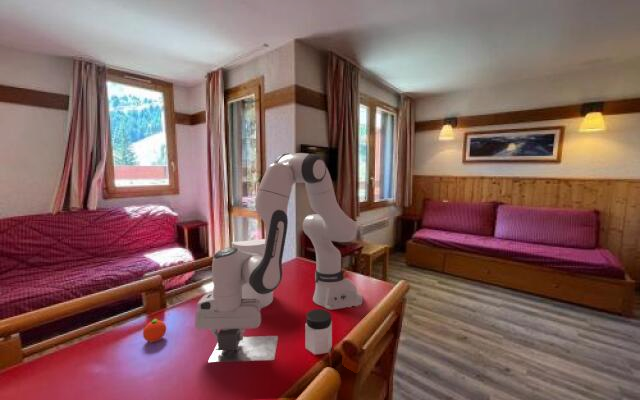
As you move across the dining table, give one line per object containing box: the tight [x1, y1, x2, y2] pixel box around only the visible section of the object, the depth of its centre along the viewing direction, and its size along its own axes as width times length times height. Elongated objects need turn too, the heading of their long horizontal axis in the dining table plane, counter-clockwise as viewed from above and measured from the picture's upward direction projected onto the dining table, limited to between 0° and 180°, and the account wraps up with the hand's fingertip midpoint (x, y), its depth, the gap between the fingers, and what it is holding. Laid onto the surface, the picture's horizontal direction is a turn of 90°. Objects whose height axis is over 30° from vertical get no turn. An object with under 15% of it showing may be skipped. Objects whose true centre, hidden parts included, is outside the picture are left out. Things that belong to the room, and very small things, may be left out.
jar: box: [304, 308, 333, 356], centre depth 90 cm, size 9×8×12 cm
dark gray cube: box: [217, 329, 241, 350], centre depth 88 cm, size 6×6×6 cm
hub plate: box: [207, 335, 279, 363], centre depth 89 cm, size 20×12×4 cm, turn 93°
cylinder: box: [231, 238, 274, 309], centre depth 122 cm, size 17×17×28 cm
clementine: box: [142, 318, 167, 343], centre depth 95 cm, size 8×7×7 cm
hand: (229, 339), depth 88 cm, fingers closed on dark gray cube, 6 cm apart
